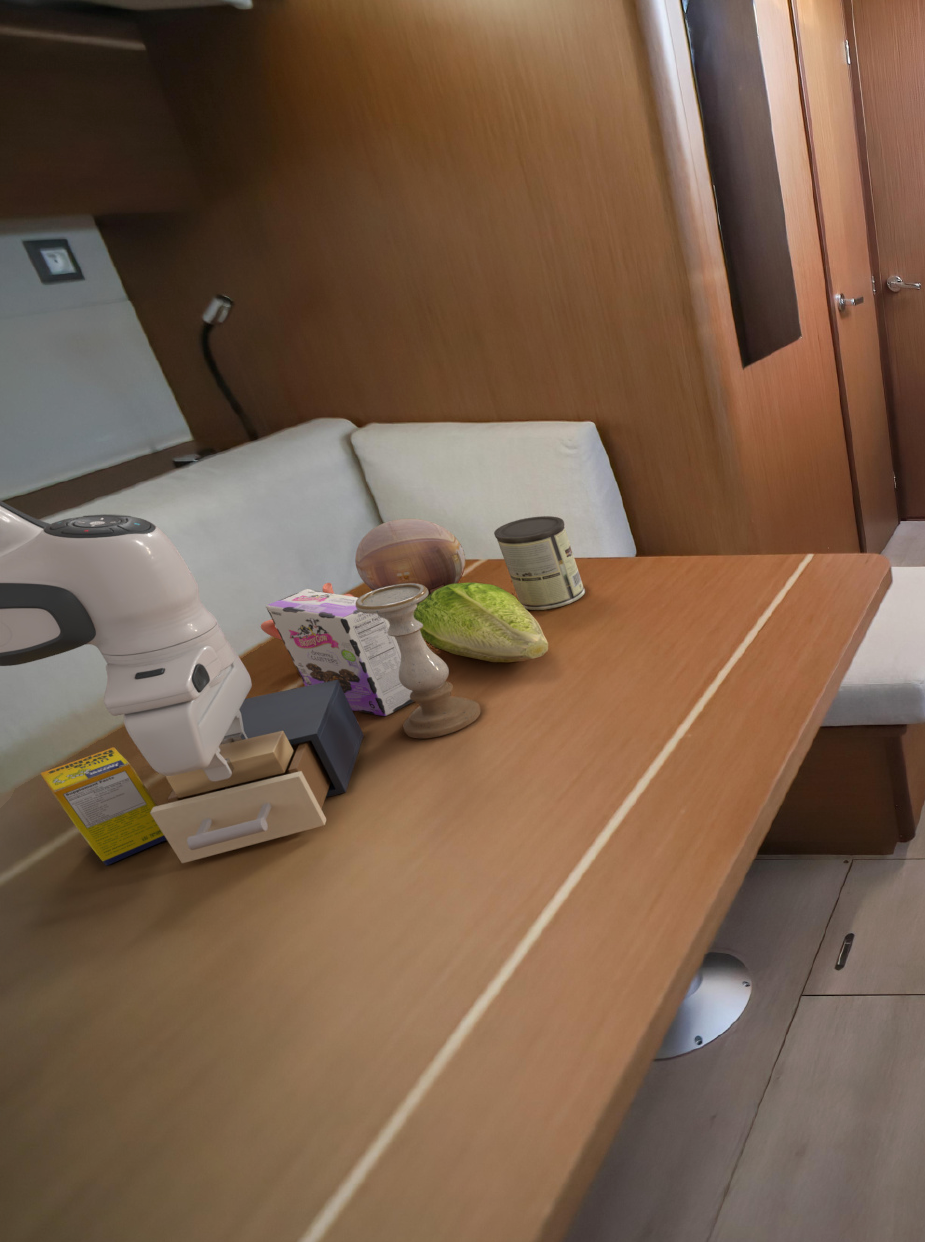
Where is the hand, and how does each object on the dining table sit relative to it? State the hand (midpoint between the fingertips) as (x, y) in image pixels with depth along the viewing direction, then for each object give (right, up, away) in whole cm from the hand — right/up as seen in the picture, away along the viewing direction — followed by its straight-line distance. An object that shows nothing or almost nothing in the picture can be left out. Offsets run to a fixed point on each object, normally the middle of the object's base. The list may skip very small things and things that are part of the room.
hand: (231, 762), depth 102 cm
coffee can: (-4, +19, +60) cm, 63 cm away
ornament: (-27, +19, +59) cm, 68 cm away
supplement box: (-13, -10, +2) cm, 17 cm away
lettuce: (-1, +10, +42) cm, 43 cm away
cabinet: (-6, -4, +13) cm, 15 cm away
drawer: (0, -8, +4) cm, 9 cm away
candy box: (-10, +4, +29) cm, 31 cm away
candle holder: (+5, +1, +25) cm, 25 cm away
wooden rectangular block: (0, -1, +1) cm, 2 cm away
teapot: (-25, +10, +41) cm, 49 cm away
